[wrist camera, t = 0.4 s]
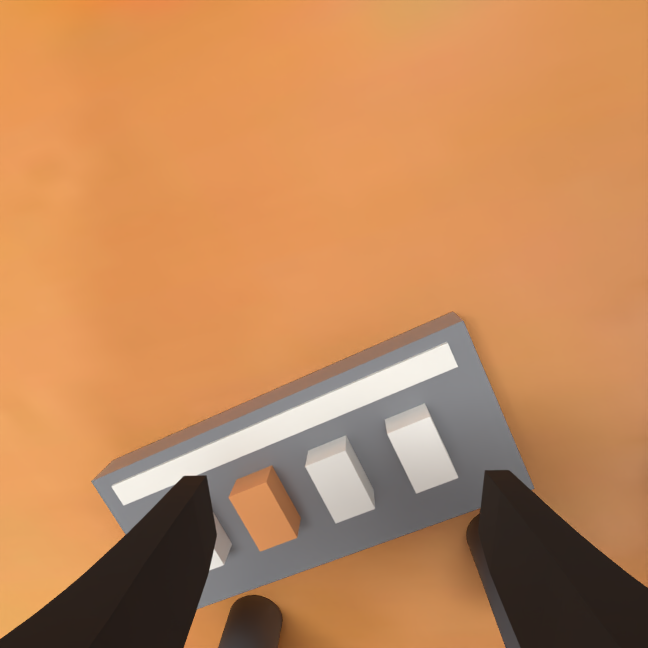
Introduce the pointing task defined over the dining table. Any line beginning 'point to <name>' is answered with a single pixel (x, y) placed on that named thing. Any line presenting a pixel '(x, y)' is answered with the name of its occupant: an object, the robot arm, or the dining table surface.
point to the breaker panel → (332, 459)
